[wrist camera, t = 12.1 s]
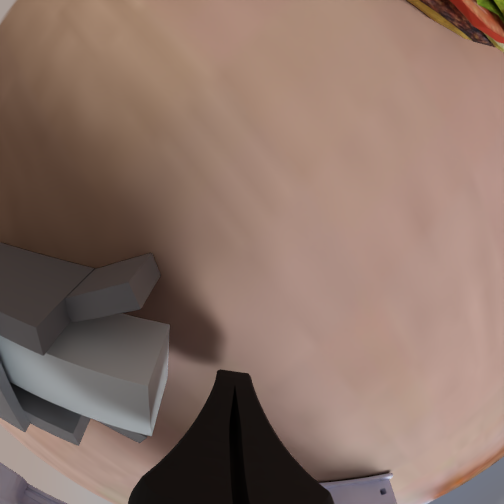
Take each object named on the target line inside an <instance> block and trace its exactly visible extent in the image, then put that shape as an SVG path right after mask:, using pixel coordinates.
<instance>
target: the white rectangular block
mask: <svg viewBox="0 0 504 504" xmlns="http://www.w3.org/2000/svg"><path fill="white" fill-rule="evenodd" d="M169 332H170V324H166V323H161V322H156V321H152V320H147V319H143V318H139V317H135V316H130V315H126V314H122V313H120V314H115V315H110V316H105V317H100V318H94V319H89V320H84V321H78V322H73V323H72V321H71V322H70V323H69V324H68V326H67V327H66V328H65V329H64V330H63V332H62V333H61V334H60V335H59V337H58V338H57V339H56V341H55V342H54V343H53V344H52V346H51V347H50V348H49V350H48V351H47V352H46V353H45V355H44V356H42V355H40V354H38V353H36V352H33V351H31V350H29V349H27V348H25V347H23V346H20V345H18V344H16V343H14V342H12V341H10V340H8V339H6V338H4V337H2V336H1V335H0V362H1V365H2V367H3V369H4V372H5V374H6V376H7V379H8V381H10V382H11V383H13V384H15V385H17V386H19V387H21V388H23V389H24V390H26V391H28V392H30V393H32V394H34V395H36V396H39V397H41V398H43V399H45V400H47V401H49V402H51V403H54V404H56V405H58V406H61V407H63V408H65V409H68V410H70V411H73V412H75V413H78V414H81V415H83V416H86V417H89V418H91V419H94V420H97V421H100V422H103V423H106V424H109V425H112V426H116V427H119V428H122V429H126V430H129V431H133V432H136V433H140V434H144V435H148V436H152V434H153V430H154V426H155V422H156V418H157V415H158V411H159V407H160V403H161V400H162V396H163V393H164V389H165V385H166V382H167V378H168V352H169Z"/></svg>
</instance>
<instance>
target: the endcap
mask: <svg viewBox="0 0 504 504" xmlns="http://www.w3.org/2000/svg"><path fill="white" fill-rule="evenodd" d="M160 276H161V275H160V272H159V270H158V267H157V264H156V262H155V259H154V257H153V254H152V253H149V254H145V255H142V256H138V257H135V258H131V259H128V260H124V261H121V262H118V263H114V264H111V265H107V266H104V267H101V268H97V269H95V268H91V267H87V266H83V265H79V264H75V263H72V262H68V261H64V260H60V259H56V258H53V257H49V256H45V255H42V254H38V253H34V252H31V251H27V250H24V249H21V248H17V247H14V246H10V245H7V244H4V243H0V335H1V336H2V337H4V338H6V339H8V340H10V341H12V342H14V343H16V344H18V345H20V346H23V347H25V348H27V349H29V350H31V351H33V352H36V353H38V354H40V355H42V356H44V355H45V353H46V352H47V351H48V350H49V348H50V347H51V346H52V344H53V343H54V342H55V341H56V339H57V338H58V337H59V335H60V334H61V333H62V332H63V330H64V329H65V328H66V327H67V326H68V324H69V323H70V322H71V321H72V323H73V322H78V321H84V320H89V319H94V318H100V317H105V316H110V315H115V314H120V313H125V312H130V311H135V310H139V309H141V308H142V307H143V305H144V303H145V301H146V300H147V298H148V296H149V294H150V293H151V291H152V289H153V288H154V286H155V284H156V282H157V281H158V279H159V277H160ZM0 418H2V419H3V420H5V421H7V422H8V423H10V424H11V425H13V426H15V427H17V428H18V429H20V430H22V431H23V432H26V430H27V428H28V426H29V425H30V423H31V424H33V425H35V426H37V427H39V428H40V429H42V430H44V431H47V432H49V433H51V434H53V435H55V436H57V437H59V438H62V439H64V440H66V441H68V442H71V443H73V444H76V445H78V446H79V444H80V442H81V439H82V437H83V435H84V432H85V430H86V428H87V425H88V423H89V421H90V419H91V418H89V417H86V416H83V415H81V414H78V413H75V412H73V411H70V410H68V409H65V408H63V407H61V406H58V405H56V404H54V403H51V402H49V401H47V400H45V399H43V398H41V397H39V396H36V395H34V394H32V393H30V392H28V391H26V390H24V389H23V388H21V387H19V386H17V385H15V384H13V383H11V382H10V381H8V379H7V376H6V374H5V372H4V369H3V367H2V365H1V362H0ZM99 422H100V421H99ZM101 423H102V424H104V425H106V426H108V427H109V428H111V429H113V430H115V431H117V432H118V433H120V434H122V435H124V436H126V437H128V438H130V439H132V440H134V441H136V442H138V443H141V442H142V441H143V440H145V439H146V438H147V435H144V434H140V433H136V432H133V431H129V430H126V429H122V428H119V427H116V426H112V425H109V424H106V423H103V422H101Z"/></svg>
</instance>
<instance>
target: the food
mask: <svg viewBox="0 0 504 504" xmlns="http://www.w3.org/2000/svg"><path fill="white" fill-rule="evenodd" d="M407 1H409V2H410V3H411V4H413V5H414V6H416V7H417V8H418V9H420V10H421V11H422V12H424V13H425V14H426V15H427V16H429V17H430V18H431V19H433V20H434V21H436V22H437V23H439V24H441V25H443V26H445V27H446V28H448V29H450V30H451V31H453V32H455V33H456V34H458V35H460V36H461V37H463V38H465V39H469V40H472V41H473V42H477V43H481V44H485V45H489V46H493V47H496V48H498V49H499V50H501V51H502V52H503V53H504V0H407Z"/></svg>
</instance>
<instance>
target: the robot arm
mask: <svg viewBox="0 0 504 504" xmlns="http://www.w3.org/2000/svg"><path fill="white" fill-rule="evenodd" d="M392 477H393V474H392V473H387V474H382V475H377V476H372V477H366V478H360V479H353V480H345V481H336V482H326V483H318V482H317V481H316V480H315V479H313V478H312V477H311V476H310V475H309V474H308V473H307V472H306V471H305V470H304V469H303V468H302V467H301V466H300V464H299V463H298V462H297V461H296V460H295V459H294V458H293V457H292V456H291V454H290V453H289V452H288V450H287V449H286V448H285V446H284V445H283V444H282V442H281V441H280V439H279V438H278V436H277V435H276V433H275V432H274V430H273V428H272V426H271V425H270V423H269V421H268V419H267V417H266V415H265V413H264V411H263V409H262V407H261V405H260V403H259V400H258V398H257V395H256V393H255V390H254V387H253V384H252V380H251V377H250V375H249V374H248V373H241V372H233V371H227V370H218V371H217V375H216V380H215V383H214V386H213V388H212V391H211V393H210V395H209V397H208V399H207V401H206V403H205V405H204V407H203V409H202V410H201V412H200V414H199V415H198V417H197V419H196V420H195V422H194V423H193V424H192V426H191V427H190V429H189V430H188V431H187V433H186V434H185V435H184V436H183V438H182V439H181V440H180V441H179V442H178V444H177V445H176V446H175V447H174V448H173V449H172V450H171V451H170V452H169V453H168V454H167V455H166V456H165V457H164V458H163V459H162V460H161V461H160V462H159V463H158V464H157V465H156V466H155V467H153V468H152V469H151V470H150V471H148V472H147V473H146V474H145V475H144V476H142V478H141V479H140V480H139V482H138V483H137V485H136V486H135V488H134V489H133V491H132V493H131V495H130V497H129V501H128V504H397V502H396V499H395V495H394V492H393V489H392V486H391V483H390V481H389V479H390V478H392ZM0 504H67V503H65V502H62V501H60V500H58V499H56V498H54V497H52V496H50V495H48V494H46V493H44V492H43V491H41V490H39V489H37V488H35V487H33V486H32V485H30V484H28V483H27V482H26V480H25V479H23V478H22V477H21V476H20V475H18V474H17V473H16V472H14V471H13V470H11V469H9V468H8V467H6V466H5V465H3V464H2V463H0Z"/></svg>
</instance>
